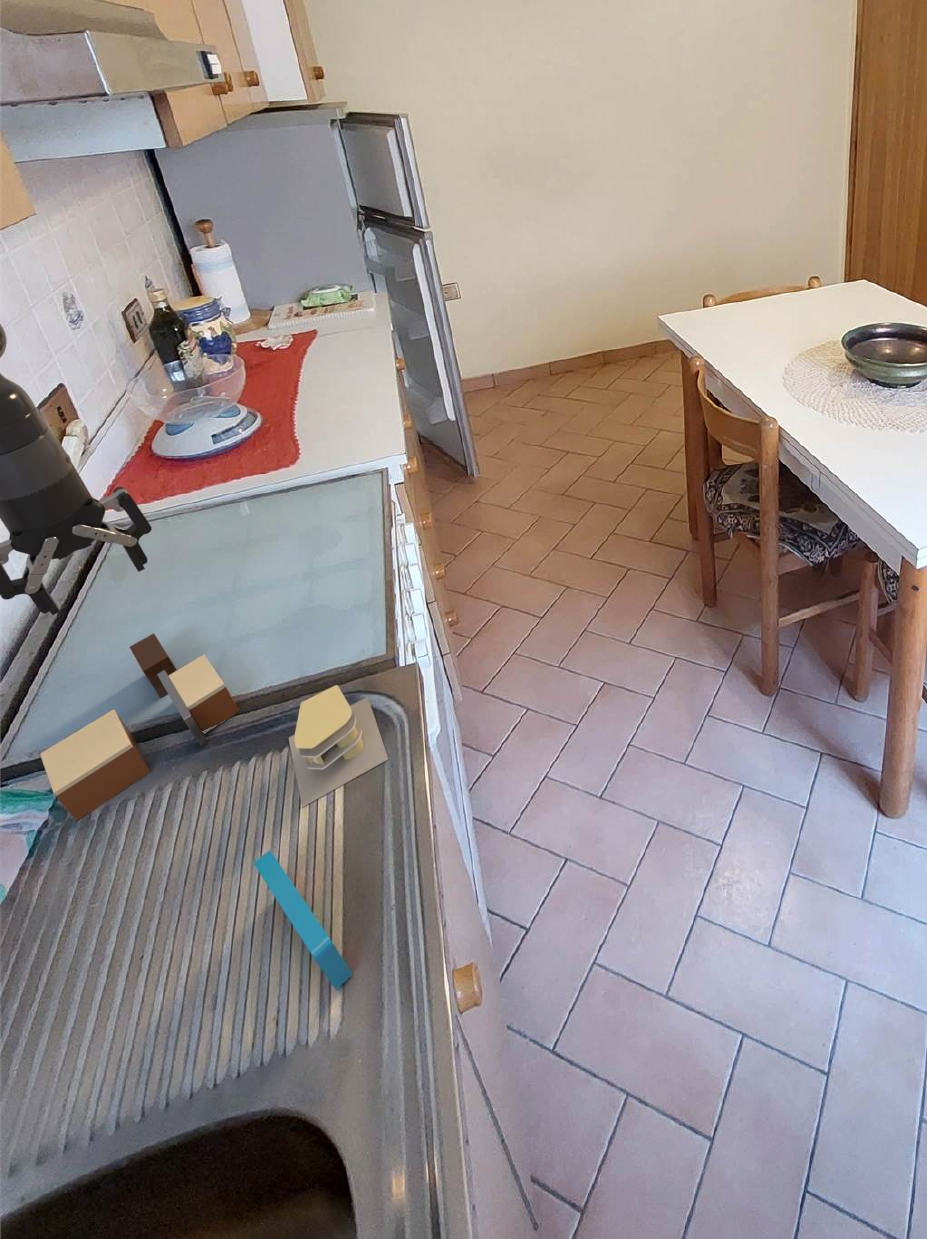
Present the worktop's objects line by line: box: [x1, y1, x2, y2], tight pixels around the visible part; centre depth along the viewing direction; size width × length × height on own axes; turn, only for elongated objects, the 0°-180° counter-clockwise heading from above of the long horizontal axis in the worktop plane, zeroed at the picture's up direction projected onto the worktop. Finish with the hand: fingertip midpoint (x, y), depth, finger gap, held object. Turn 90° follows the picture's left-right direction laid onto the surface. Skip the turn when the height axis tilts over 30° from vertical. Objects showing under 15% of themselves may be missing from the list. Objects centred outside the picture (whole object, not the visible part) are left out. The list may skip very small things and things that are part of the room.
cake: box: [39, 709, 152, 821], centre depth 80 cm, size 7×7×5 cm
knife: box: [129, 632, 209, 748], centre depth 88 cm, size 3×18×5 cm, turn 48°
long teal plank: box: [253, 849, 353, 991], centre depth 64 cm, size 12×2×6 cm, turn 50°
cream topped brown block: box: [168, 654, 240, 731], centre depth 87 cm, size 4×7×5 cm, turn 48°
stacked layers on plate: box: [288, 684, 389, 808], centre depth 80 cm, size 10×9×6 cm
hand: (98, 588), depth 85 cm, fingers open, 8 cm apart
